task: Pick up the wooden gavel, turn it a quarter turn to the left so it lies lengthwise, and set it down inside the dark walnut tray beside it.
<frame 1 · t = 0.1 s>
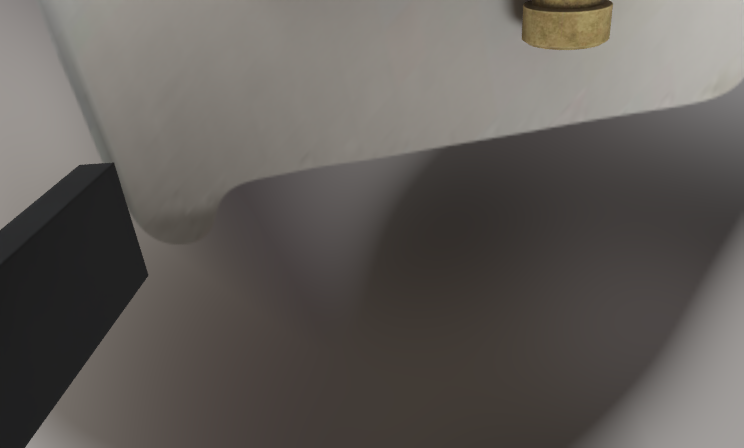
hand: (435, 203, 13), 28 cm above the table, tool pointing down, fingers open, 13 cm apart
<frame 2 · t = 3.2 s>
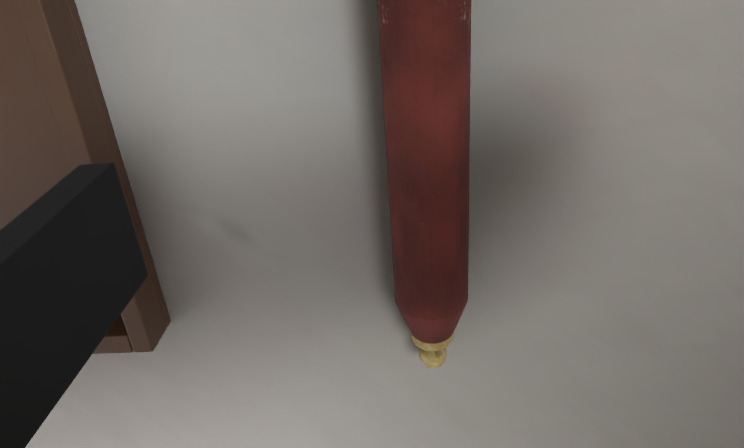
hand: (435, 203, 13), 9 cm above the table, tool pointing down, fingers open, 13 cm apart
gavel: (426, 79, 21), on the table
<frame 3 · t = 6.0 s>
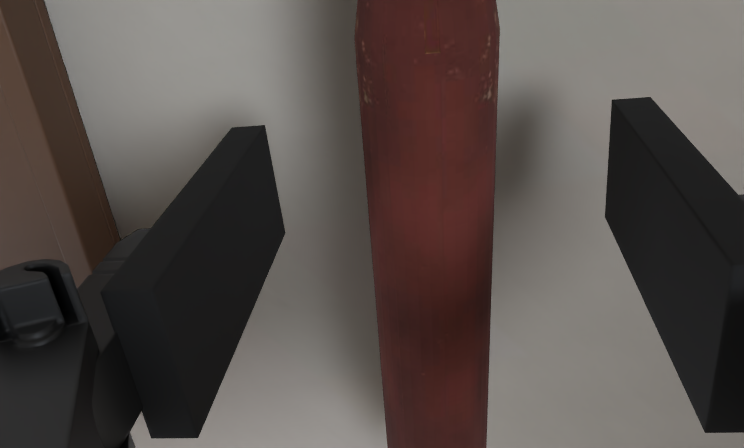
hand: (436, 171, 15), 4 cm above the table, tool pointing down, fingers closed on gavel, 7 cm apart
gavel: (431, 163, 15), point 3 cm above the table, touching gripper
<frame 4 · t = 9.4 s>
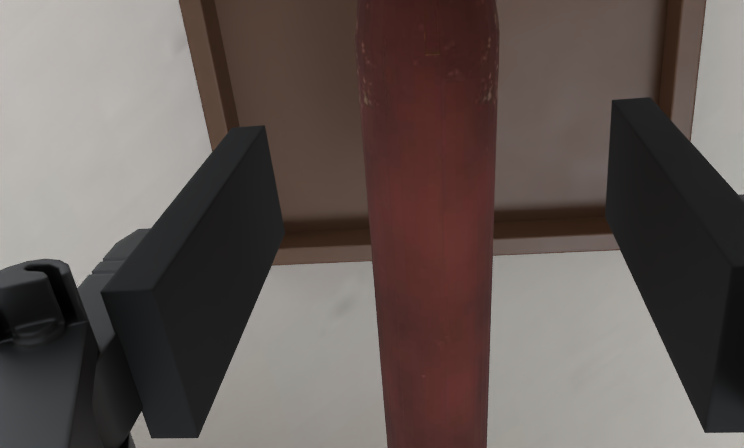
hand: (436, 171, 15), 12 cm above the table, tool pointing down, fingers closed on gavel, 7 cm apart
gavel: (431, 164, 15), point 11 cm above the table, touching gripper
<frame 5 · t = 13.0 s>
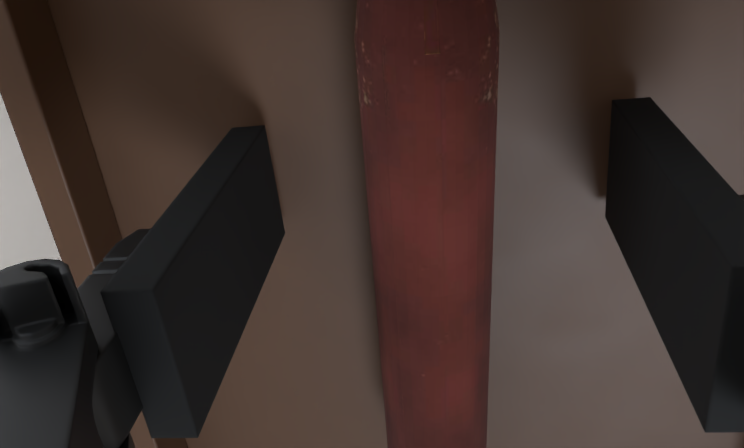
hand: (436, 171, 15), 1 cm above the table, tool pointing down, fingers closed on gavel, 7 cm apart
tray: (436, 163, 16), on the table
gavel: (431, 163, 15), resting on tray, touching gripper
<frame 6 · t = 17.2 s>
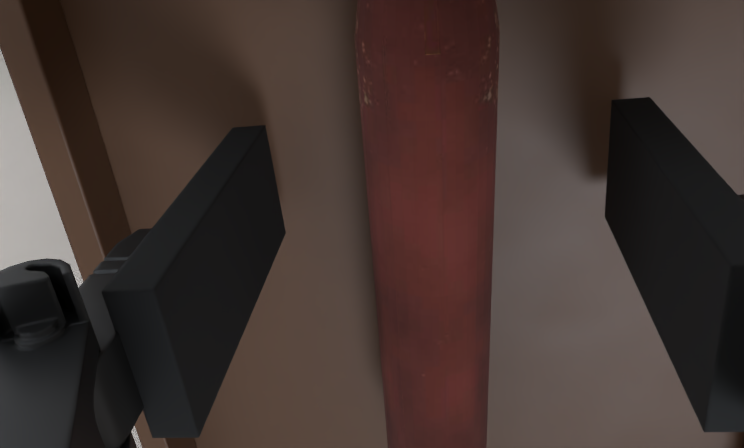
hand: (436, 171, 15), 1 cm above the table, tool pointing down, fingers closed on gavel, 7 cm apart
tray: (436, 156, 16), on the table
gavel: (432, 163, 15), point 1 cm above the table, touching gripper
when the fingers open (2 cm above the table, at t = 21.4 s): gavel drops 1 cm, resting on tray.
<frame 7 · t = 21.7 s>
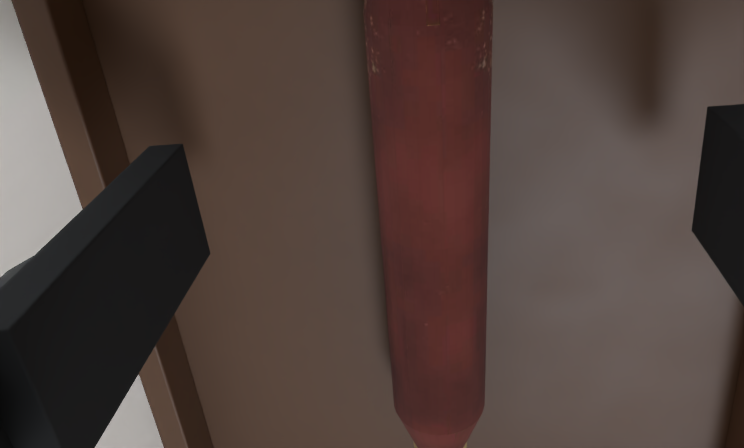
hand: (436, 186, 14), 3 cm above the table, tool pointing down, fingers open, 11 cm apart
tray: (436, 135, 17), on the table
gavel: (433, 133, 17), resting on tray
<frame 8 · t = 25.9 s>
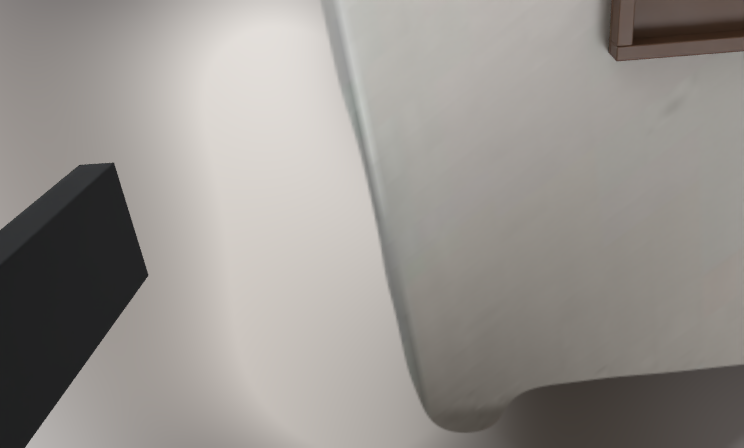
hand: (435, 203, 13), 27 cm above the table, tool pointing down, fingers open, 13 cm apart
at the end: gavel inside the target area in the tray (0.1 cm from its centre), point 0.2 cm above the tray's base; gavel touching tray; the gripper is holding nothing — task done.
